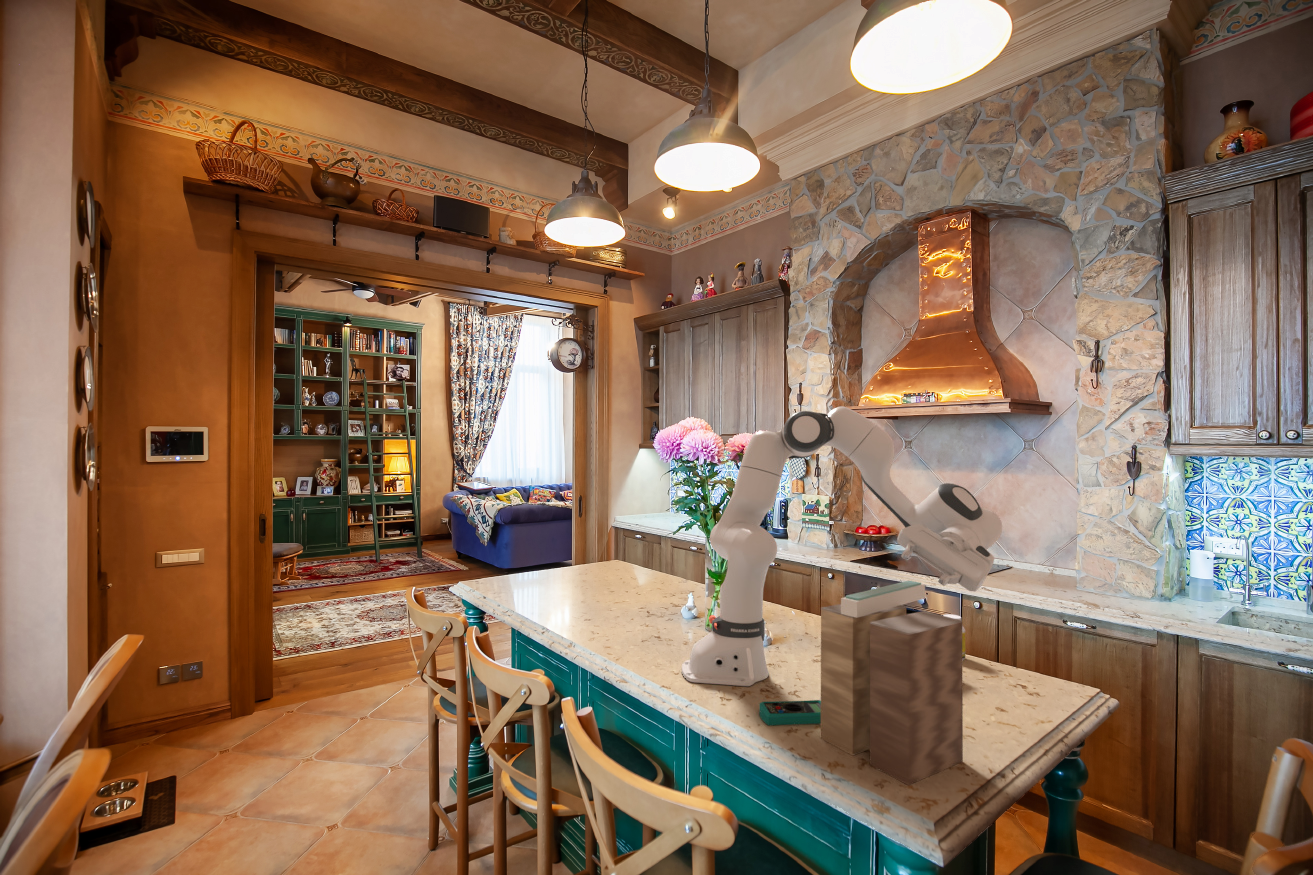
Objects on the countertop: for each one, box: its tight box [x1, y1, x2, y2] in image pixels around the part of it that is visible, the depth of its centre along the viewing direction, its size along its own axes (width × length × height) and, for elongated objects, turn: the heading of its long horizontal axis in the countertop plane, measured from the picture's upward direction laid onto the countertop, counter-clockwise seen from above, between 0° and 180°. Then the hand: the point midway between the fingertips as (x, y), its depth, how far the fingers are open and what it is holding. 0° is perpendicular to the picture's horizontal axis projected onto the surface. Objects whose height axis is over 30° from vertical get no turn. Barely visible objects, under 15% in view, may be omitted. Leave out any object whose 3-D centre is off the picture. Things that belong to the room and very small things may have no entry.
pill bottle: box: [942, 613, 966, 661], centre depth 171 cm, size 6×6×12 cm
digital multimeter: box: [758, 699, 821, 726], centre depth 131 cm, size 7×15×3 cm, turn 95°
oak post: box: [820, 603, 907, 756], centre depth 122 cm, size 16×8×26 cm, turn 122°
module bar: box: [840, 580, 926, 618], centre depth 124 cm, size 26×4×3 cm, turn 129°
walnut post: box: [869, 610, 964, 786], centre depth 112 cm, size 16×8×26 cm, turn 121°
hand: (922, 568), depth 136 cm, fingers open, 8 cm apart
